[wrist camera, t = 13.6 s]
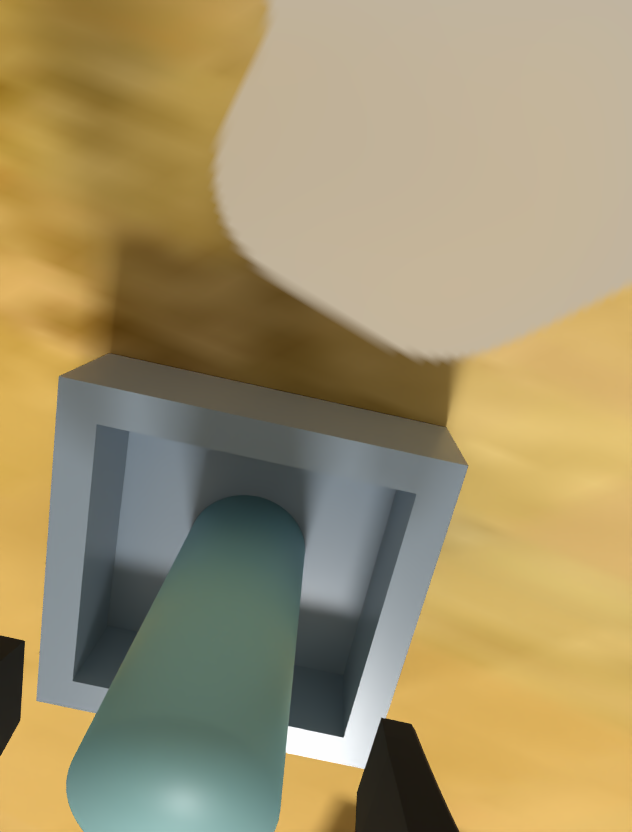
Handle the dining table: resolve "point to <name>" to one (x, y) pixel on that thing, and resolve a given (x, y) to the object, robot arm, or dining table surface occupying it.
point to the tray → (230, 476)
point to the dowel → (202, 687)
